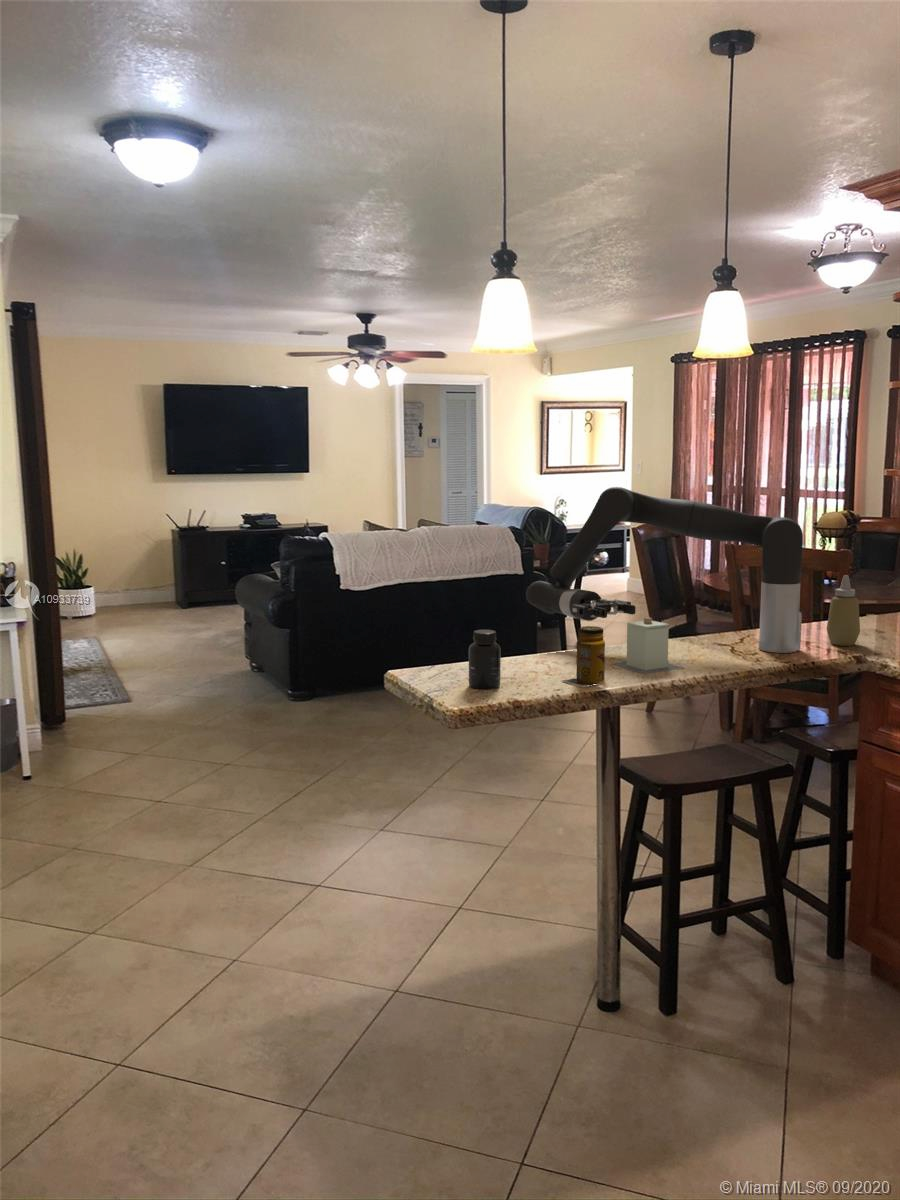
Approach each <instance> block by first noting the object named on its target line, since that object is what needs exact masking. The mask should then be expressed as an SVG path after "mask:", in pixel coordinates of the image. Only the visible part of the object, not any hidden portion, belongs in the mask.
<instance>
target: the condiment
mask: <svg viewBox="0 0 900 1200" xmlns="http://www.w3.org/2000/svg"><path fill="white" fill-rule="evenodd" d="M605 641H606V640H604V628H603V627H601V626H596V625H595V626H593V625H592V626H590V625H589V626H581V627H579V629H578V639H577V641H576V673H575V674H576V675H575V676H576V678H570V679H562V680H560V681H561V682H563V683H566V684H569V685H572V686H576V687H578V688H589V687H592V686H591V685H593V684H599V682H603V681H604V680H605V672H606V671H605V670H606V669H605V666H606V665H605V663H606V661H605V660H606V658H605V657H606V656H605V655H606V642H605ZM586 685H589V686H586ZM593 687H596V686H595V685H594V686H593Z"/></svg>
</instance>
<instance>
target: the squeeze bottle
mask: <svg viewBox="0 0 900 1200" xmlns="http://www.w3.org/2000/svg"><path fill="white" fill-rule="evenodd" d="M842 576H843V577H842V579H841V583H840V586H839V588H835V593H834V594H835V596H833V597H832V598H831V599H830V605H829V612H828V616H827V617H828V618H827V625H826V632H827V636H828V639H829V643H830V644H832V645H835V646H839V647H840V646H841V647H842V646H843V647H848V646H849V647H850V646H854V645H856V642H857V640H858V638H859V636H860V633H861V624H860V622H861V621H860V604H859V601H860V600H859V599H858V598H857V597H855V596H856V589H854V588H851V582H850V576H849V574H845V575H842Z"/></svg>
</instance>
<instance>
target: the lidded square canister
mask: <svg viewBox="0 0 900 1200" xmlns="http://www.w3.org/2000/svg"><path fill="white" fill-rule="evenodd" d="M626 625H627V626H626V628H627V629H626V662H627V665H629V666H632V667H636V668H639V669H643V670H650V669H657V668H664V667H668V662H669V659H668V658H669V632H670V631H669V629H670V628H669V623H666V622H661V621H656V620H653V618H652V617H643V620H639V621H638V620H637V621H636V620H635V621H629V622H627V624H626Z"/></svg>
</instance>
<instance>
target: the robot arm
mask: <svg viewBox="0 0 900 1200" xmlns="http://www.w3.org/2000/svg"><path fill="white" fill-rule="evenodd" d="M621 522H622V523H636V524H641V525H642V524H645V525H649V526H653V527H657V528H659V529H661V530H664V531H668V532H670V533H673V534H677V535H680V536H684V537H687V538H694V539H699V540H707V541H715V542H717V541H718V542H737V543H744V544H749V545H752V546H756V547H759V548H760V547H761V548H762V553H761V580H760V582H761V583H760V588H761V589H760V606H759V607H760V610H759V613H760V614H759V632H758V633H759V634H758V635H759V636H758V650H761V651H763V652H770V653H775V654H777V653H779V654H787V653H789V654H790V653H796V652H798V651H799V650H801V643H802V642H801V641H802V623H803V622H802V621H803V620H802V619H803V617H802V616H803V613H802V612H801V611H800V602H801V582H802V581H801V580H802V571H803V570H802V568H803V567H802V566H803V564H802V563H803V562H802V561H803V550H804V549H803V548H804V543H803V542H804V534H803V530H802V527H801V526H800V524H799V523H798V522H797V521H795V520H794V519H793V518H790V517H785V516H784V517H783V516H781V517H780V516H779V517H778V516H764V515H755V514H749V513H745V512H741V511H738V510H735V509H732V508H728V507H725V506H720V505H717V504H712V503H708V502H702V501H695V500H690V499H681V498H666V497H665V498H662V497H654V496H651V495H647V494H643V493H639V492H638V491H637V492H636V491H633V490H630V489H627V488H624V487H619V486H612V487H609V488H606V489H605V490H604V491H603V492H602V493H601V494H600V495H599V497H598V499H597V502H596V504H595V505H594V507H593V509H592V511H591V512H590V514H589V516H588V518H587V520H586V521H585V523H584V525H582V527H581V528H580V530H579V532H578V533H577V534H576V535H575V537H574V538H573V539H572V540H571V541H570V543H569V545H568V546H567V547H566V548H565V550H563V552H562V553H561V555H560V556H559V557H558V558H557V560H556V561H555V563H554V564H553V565H552V567H550V570H549V573H550V576H551V577H552V578H553V579H554V580H555V581H556V583H555V584H552V583H549V582H548V581H543V580H537V581H534V582H532V583H530V585H529V586H528V587H527V589H526V592H525V596H526V597H525V598H526V601H527V603H529V604H530V605H531V606H533V607H535V609H536V608H537V609H539V610H540V611H542V612H544V613H546V614H549V615H554V614H555V613H557V614H559V615H564V616H568V617H570V618H573V619H578V620H581V621H582V620H583V621H587V622H589V621H591V622H592V621H594V620H596V619H597V618H600V619H606V618H607V617H608V615H609V616H611V615H615V616H616V615H617V614H627V615H635V614H636V606H635V605H634V604H632V602H631V601H626V600H620V599H617V598H616V599H613V600H611V599H610V600H609V599H607V598H602V597H601V595H599V594H598V593H597V592H596V591H591V590H586V589H581V588H571V587H572V585H573V583H574V582H575V581H576V579H578V577H579V575H580V574H581V572H583V570H584V569H585V567H586V566H587V565H588V563H589V561H590V560H591V558H592V557H593V555H594V553H595V552H596V550H597V549H598V547H599V545H600V543H601V542H602V541H603V539H604V538H606V536H607V535H608V534H609V532H610V531H612V530H613V529H614V528H615V527H616V526H617V525H618V524H619V523H621ZM612 609H613V611H612Z"/></svg>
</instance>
